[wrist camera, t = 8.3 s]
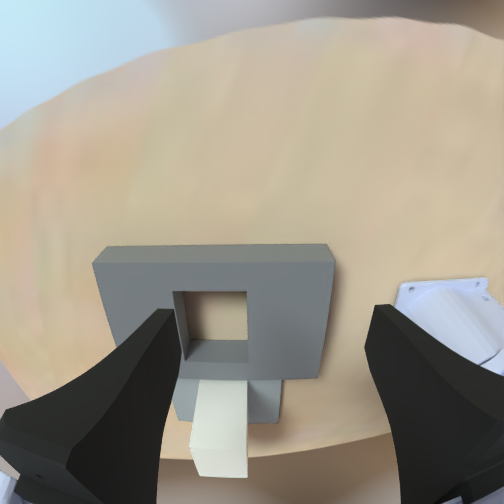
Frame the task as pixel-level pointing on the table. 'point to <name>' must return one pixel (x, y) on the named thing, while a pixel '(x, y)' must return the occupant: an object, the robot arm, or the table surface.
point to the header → (227, 279)
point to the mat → (259, 400)
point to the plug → (221, 429)
